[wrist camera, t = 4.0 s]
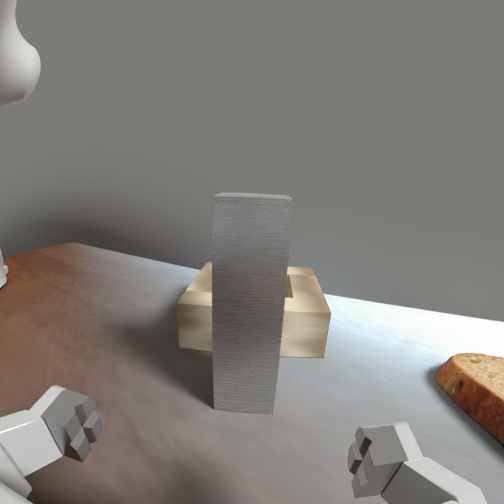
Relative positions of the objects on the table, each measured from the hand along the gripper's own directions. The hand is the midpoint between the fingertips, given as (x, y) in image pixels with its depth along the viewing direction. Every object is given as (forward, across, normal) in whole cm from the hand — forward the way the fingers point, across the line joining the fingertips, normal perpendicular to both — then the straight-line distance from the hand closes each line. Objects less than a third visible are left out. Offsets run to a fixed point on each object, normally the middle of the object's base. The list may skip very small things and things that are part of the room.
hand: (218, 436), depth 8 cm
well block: (+23, 0, +8) cm, 25 cm away
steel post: (+11, 0, +8) cm, 14 cm away
